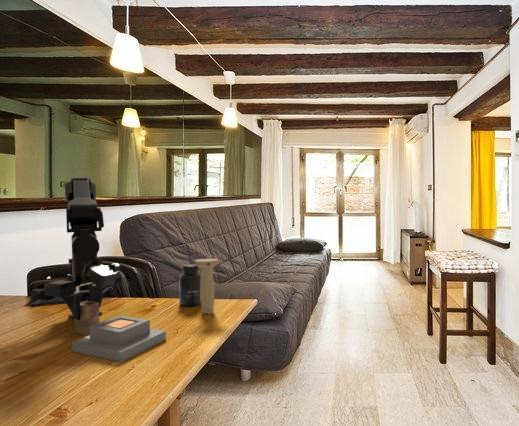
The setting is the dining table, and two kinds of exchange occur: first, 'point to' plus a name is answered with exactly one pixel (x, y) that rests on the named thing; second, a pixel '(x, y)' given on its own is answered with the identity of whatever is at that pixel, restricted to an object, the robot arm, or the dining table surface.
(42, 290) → the dark slate chunk
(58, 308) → the dining table surface
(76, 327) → the beige rectangular prism
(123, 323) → the button
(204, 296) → the handle
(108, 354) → the grey stepped square base
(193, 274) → the supplement bottle
